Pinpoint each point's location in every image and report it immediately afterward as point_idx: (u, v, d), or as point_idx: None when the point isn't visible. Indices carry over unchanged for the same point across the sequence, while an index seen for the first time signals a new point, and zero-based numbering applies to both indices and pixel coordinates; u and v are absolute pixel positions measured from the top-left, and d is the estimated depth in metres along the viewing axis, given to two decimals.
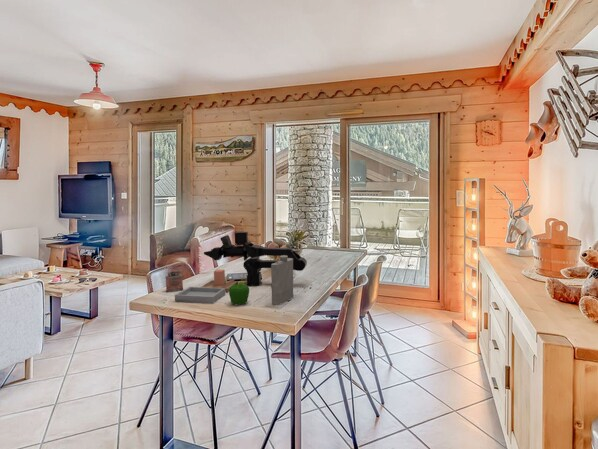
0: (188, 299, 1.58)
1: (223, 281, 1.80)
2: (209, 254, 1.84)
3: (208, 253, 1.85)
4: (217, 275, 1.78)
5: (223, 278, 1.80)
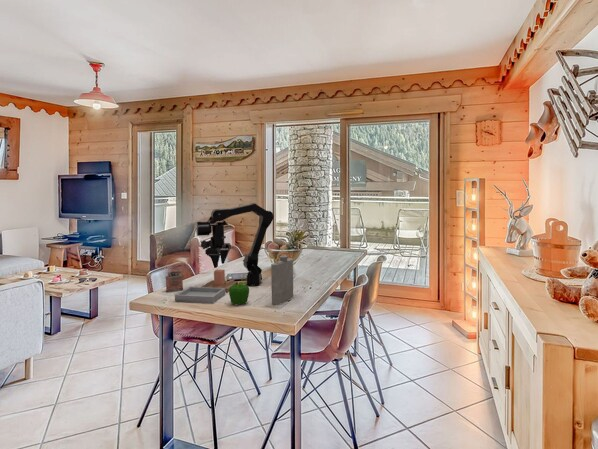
0: (188, 299, 1.58)
1: (223, 281, 1.80)
2: (215, 260, 1.74)
3: (214, 262, 1.74)
4: (217, 275, 1.78)
5: (223, 278, 1.80)
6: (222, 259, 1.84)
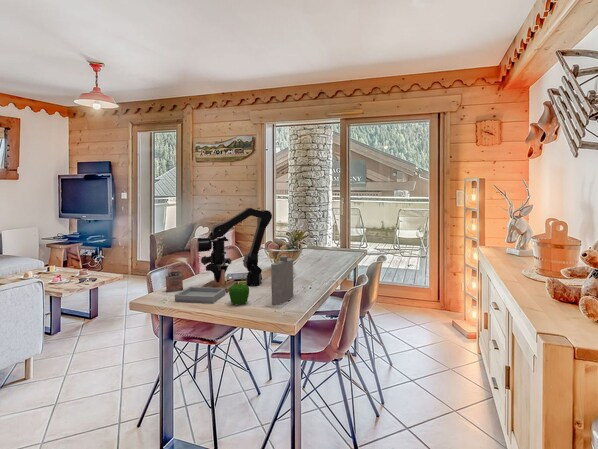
0: (188, 299, 1.58)
1: (223, 281, 1.80)
2: (217, 275, 1.77)
3: (216, 276, 1.77)
4: None
5: (223, 278, 1.80)
6: None
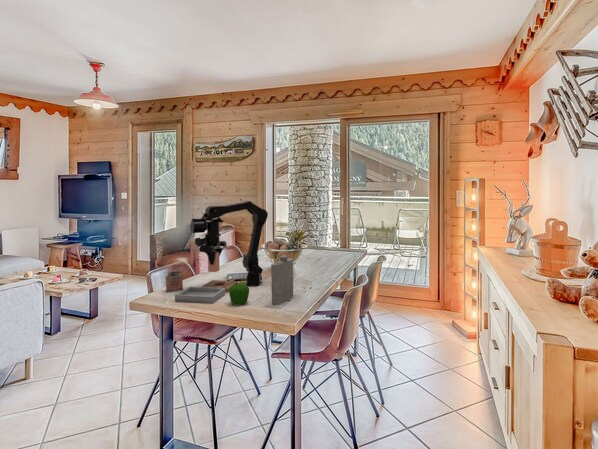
0: (188, 299, 1.58)
1: (217, 264, 1.75)
2: (211, 257, 1.72)
3: (210, 259, 1.72)
4: None
5: (217, 261, 1.75)
6: None
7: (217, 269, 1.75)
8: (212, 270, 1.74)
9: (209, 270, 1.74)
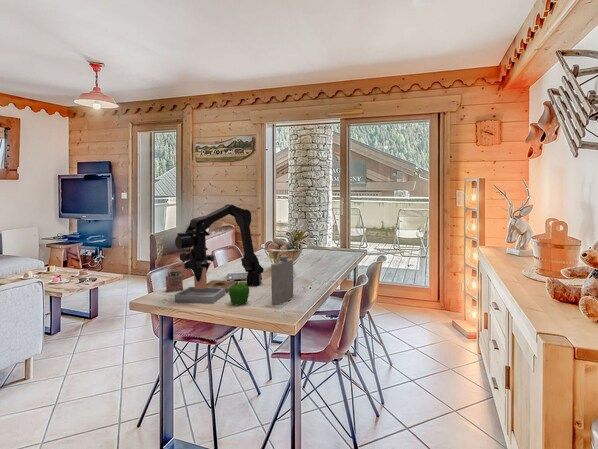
0: (188, 299, 1.58)
1: (204, 280, 1.64)
2: (198, 274, 1.60)
3: (197, 275, 1.60)
4: None
5: (204, 277, 1.64)
6: None
7: (204, 286, 1.64)
8: (199, 287, 1.62)
9: (195, 287, 1.63)
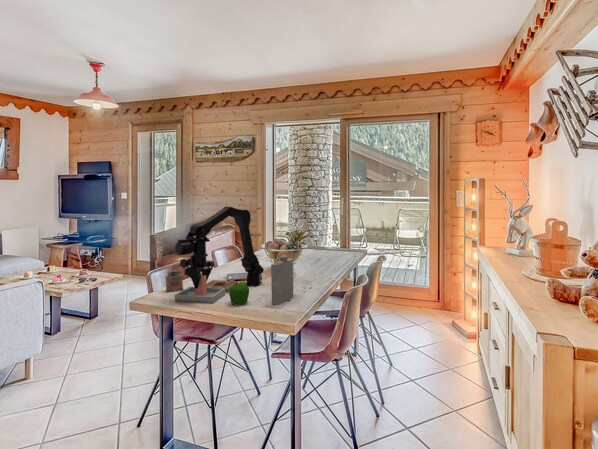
0: (188, 299, 1.58)
1: (204, 288, 1.64)
2: (196, 281, 1.58)
3: (195, 282, 1.59)
4: None
5: (204, 285, 1.64)
6: None
7: (204, 294, 1.64)
8: (199, 295, 1.63)
9: None
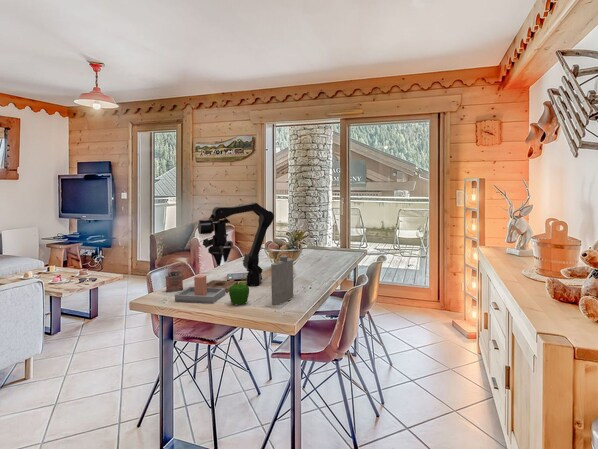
0: (188, 299, 1.58)
1: (204, 288, 1.64)
2: (218, 259, 1.73)
3: (217, 260, 1.73)
4: (198, 282, 1.62)
5: (204, 285, 1.64)
6: (224, 257, 1.83)
7: (204, 294, 1.64)
8: (199, 295, 1.63)
9: None
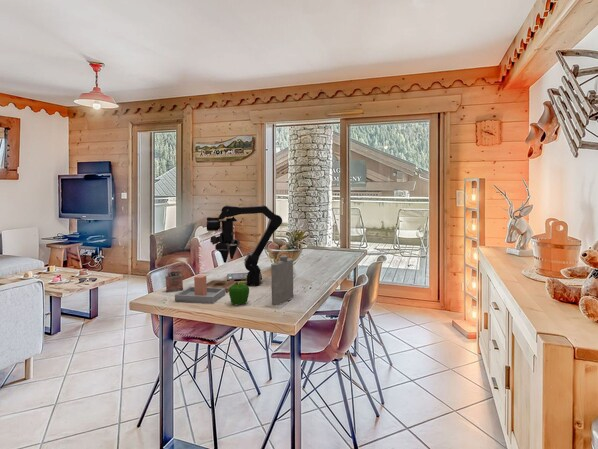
0: (188, 299, 1.58)
1: (204, 288, 1.64)
2: (224, 256, 1.78)
3: (224, 257, 1.78)
4: (198, 282, 1.62)
5: (204, 285, 1.64)
6: (231, 254, 1.88)
7: (204, 294, 1.64)
8: (199, 295, 1.63)
9: None
